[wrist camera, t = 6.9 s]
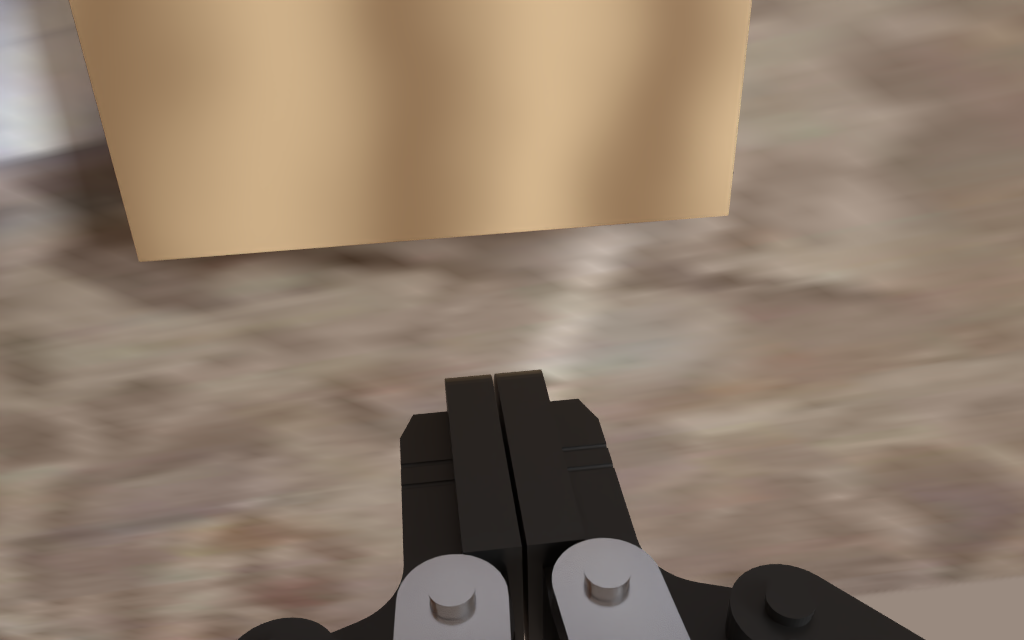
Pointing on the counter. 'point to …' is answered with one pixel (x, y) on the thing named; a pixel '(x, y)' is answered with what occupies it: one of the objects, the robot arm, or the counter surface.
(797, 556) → the counter surface
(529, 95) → the oak plank
